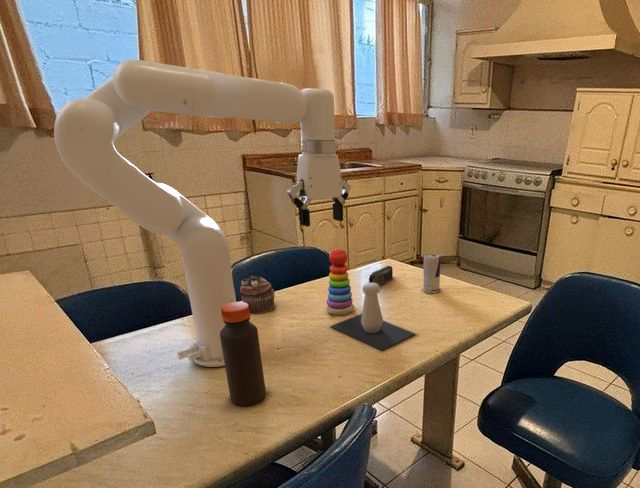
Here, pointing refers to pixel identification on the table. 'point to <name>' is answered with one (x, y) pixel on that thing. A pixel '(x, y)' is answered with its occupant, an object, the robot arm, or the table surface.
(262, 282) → the cupcake
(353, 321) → the mat
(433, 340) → the table surface
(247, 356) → the bottle
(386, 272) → the mobile phone
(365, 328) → the salt shaker
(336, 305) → the stacking toy
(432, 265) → the energy drink
